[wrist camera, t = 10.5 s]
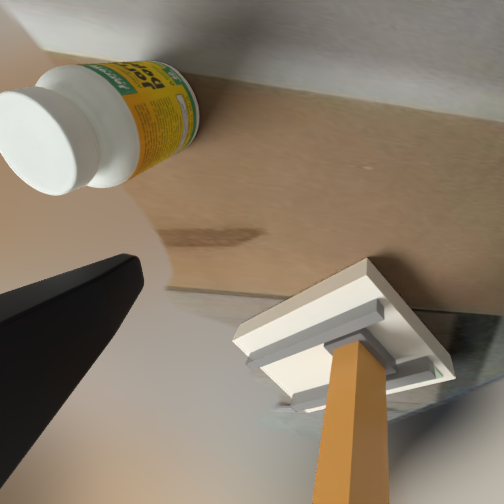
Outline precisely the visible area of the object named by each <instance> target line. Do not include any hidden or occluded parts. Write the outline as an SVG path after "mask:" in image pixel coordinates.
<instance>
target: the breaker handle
mask: <svg viewBox="0 0 504 504" xmlns="http://www.w3.org/2000/svg"><path fill="white" fill-rule="evenodd" d="M324 348H325V349H326V350H327V351H328V352H329V353H330V354H331V355H332V356H333V358H332V365H331V372H330V379H329V387H328V394H327V401H326V408H325V415H324V422H323V429H322V436H321V444H320V451H319V458H318V465H317V472H316V479H315V486H314V494H313V501H312V504H389V476H388V475H389V474H388V443H387V442H388V441H387V407H386V375H388V374H392V373H396V372H397V371H396V360H395V359H394V358H393V357H392V356H391V355H390V354H389V352H388V351H387V350H386V349H385V348H384V347H383V346H382V345H381V344H380V342H379V341H378V340H377V339H376V338H375V337H374V336H373V335H372V334H371V333H370V331H369V330H368V329H367V328H366V327H365V328H362V329H359V330H357V331H354V332H352V333H349V334H346V335H344V336H341V337H339V338H336V339H333V340H331V341H328V342H325V343H324Z"/></svg>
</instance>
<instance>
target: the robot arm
mask: <svg viewBox="0 0 504 504" xmlns="http://www.w3.org/2000/svg"><path fill="white" fill-rule="evenodd" d="M143 286H144V277H143V272H142V267H141V263H140V260H139V258H138V257H137V256H134V255H130V254H119V255H116V256H114V257H111V258H107V259H105V260H102V261H99V262H95V263H92V264H89V265H86V266H83V267H81V268H77V269H74V270H72V271H68V272H65V273H62V274H59V275H57V276H54V277H50V278H47V279H44V280H41V281H38V282H35V283H33V284H30V285H27V286H24V287H21V288H18V289H15V290H12V291H9V292H6V293H3V294H0V489H1V487H2V486H3V485H4V483H5V482H6V481H7V479H8V478H9V476H10V475H11V474H12V473H13V471H14V470H15V469H16V467H17V466H18V464H19V463H20V462H21V460H22V459H23V458H24V457H25V455H26V454H27V452H28V451H29V450H30V448H31V447H32V446H33V444H34V443H35V442H36V440H37V439H38V438H39V436H40V435H41V433H42V432H43V431H44V430H45V428H46V427H47V425H48V424H49V423H50V421H51V420H52V419H53V417H54V416H55V415H56V413H57V412H58V411H59V409H60V408H61V407H62V405H63V404H64V403H65V401H66V400H67V399H68V397H69V396H70V395H71V393H72V392H73V391H74V389H75V388H76V386H77V385H78V384H79V382H80V381H81V380H82V378H83V377H84V376H85V374H86V373H87V372H88V370H89V369H90V368H91V366H92V365H93V363H94V362H95V361H96V360H97V358H98V357H99V356H100V354H101V353H102V351H103V350H104V349H105V347H106V346H107V345H108V343H109V342H110V341H111V339H112V338H113V336H114V335H115V333H116V332H117V330H118V329H119V327H120V325H121V324H122V322H123V320H124V319H125V317H126V315H127V314H128V312H129V310H130V309H131V307H132V305H133V304H134V302H135V300H136V299H137V297H138V295H139V294H140V292H141V290H142V288H143Z"/></svg>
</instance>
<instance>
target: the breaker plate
mask: <svg viewBox="0 0 504 504" xmlns="http://www.w3.org/2000/svg"><path fill="white" fill-rule="evenodd" d="M365 327H366V328H367V329H368V330H369V331H370V333H371V334H372V335H373V336H374V337H375V338H376V339H377V340H378V341H379V342H380V344H381V345H382V346H383V347H384V348H385V349H386V350H387V351H388V352H389V354H390V355H391V356H392V357H393V358H394V359H395V360H396V371H397V372H396V373H392V374H388V375H386V395H387V394H391V393H395V392H400V391H404V390H408V389H413V388H417V387H421V386H426V385H430V384H435V383H439V382H443V381H448V380H452V379H456V377H455V373H454V368H453V364H452V360H451V356H450V354H449V353H448V352H447V351H446V350H445V348H444V347H443V346H442V345H441V344H440V343H439V341H438V340H437V339H436V338H435V337H434V336H433V334H432V333H431V332H430V331H429V330H428V328H427V327H426V326H425V325H424V324H423V323H422V321H421V320H420V319H419V318H418V317H417V316H416V314H415V313H414V312H413V311H412V310H411V308H410V307H409V306H408V305H407V304H406V303H405V301H404V300H403V299H402V298H401V297H400V296H399V294H398V293H397V292H396V291H395V290H394V289H393V287H392V286H391V285H390V284H389V283H388V281H387V280H386V279H385V278H384V277H383V276H382V274H381V273H380V272H379V271H378V270H377V269H376V267H375V266H374V265H373V264H372V263H371V261H370V260H369V259H368V258H365V259H363V260H361V261H359V262H357V263H356V264H354V265H352V266H350V267H348V268H346V269H344V270H342V271H340V272H338V273H337V274H335V275H333V276H331V277H329V278H327V279H325V280H323V281H321V282H320V283H318V284H316V285H314V286H312V287H310V288H308V289H306V290H304V291H302V292H301V293H299V294H297V295H295V296H293V297H291V298H289V299H287V300H285V301H284V302H282V303H280V304H278V305H276V306H274V307H272V308H270V309H268V310H266V311H265V312H263V313H261V314H259V315H257V316H255V317H253V318H251V319H249V320H247V321H246V322H244V323H242V324H240V326H239V328H238V330H237V332H236V334H235V336H234V338H233V340H232V341H233V342H234V343H235V344H236V345H237V346H238V347H239V348H240V349H241V350H242V351H243V352H244V353H245V354H246V355H247V356H248V360H247V362H246V365H247V366H248V367H249V368H250V369H251V370H255V369H257V368H261V369H262V370H263V371H264V372H265V373H266V374H267V375H268V376H269V377H270V378H271V379H272V380H273V381H275V382H276V383H277V384H278V385H279V386H280V387H281V388H282V389H283V390H284V391H285V392H286V393H287V394H288V395H289V396H290V397H291V398H292V400H291V404H290V407H291V408H292V409H293V410H294V411H296V412H298V411H302V410H305V411H306V412H307V413H308V412H313V411H317V410H321V409H325V408H326V401H327V394H328V387H329V379H330V372H331V365H332V358H333V356H332V355H331V354H330V353H329V352H328V351H327V350H326V349H325V348H324V343H325V342H328V341H331V340H333V339H336V338H339V337H341V336H344V335H346V334H349V333H352V332H354V331H357V330H359V329H362V328H365Z"/></svg>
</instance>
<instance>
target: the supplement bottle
mask: <svg viewBox="0 0 504 504" xmlns="http://www.w3.org/2000/svg"><path fill="white" fill-rule="evenodd" d="M198 126H199V107H198V103H197V100H196V97H195V94H194V92H193V90H192V88H191V87H190V85H189V83H188V82H187V81H186V79H185V78H184V77H183V76H182V75H181V74H180V73H179V72H178V71H177V70H176V69H175V68H173V67H172V66H170V65H167V64H165V63H162V62H158V61H135V62H115V63H98V64H76V65H63V66H58V67H55V68H53V69H51V70H49V71H48V72H46V73H45V74H43V75H42V76H41V78H40V79H39V80H38V82H37V83H36V85H35V86H33V87H27V88H20V89H13V90H8V91H5V92H2V93H0V153H1V154H2V156H3V157H4V159H5V160H6V162H7V163H8V165H9V166H10V167H11V169H13V171H14V172H15V173H16V174H17V175H18V176H19V177H20V178H21V179H22V180H24V182H26V183H27V184H29V185H30V186H31V187H33V188H35V189H36V190H38V191H40V192H42V193H46V194H49V195H62V194H66V193H68V192H70V191H73V190H75V189H78V188H81V187H84V186H85V185H87V186H91V187H96V188H108V187H113V186H116V185H119V184H121V183H123V182H125V181H127V180H130V179H132V178H133V177H135V176H136V175H138V174H140V173H142V172H144V171H146V170H147V169H149V168H151V167H153V166H155V165H156V164H158V163H160V162H162V161H164V160H166V159H168V158H170V157H171V156H173V155H175V154H177V153H179V152H180V151H182V150H184V149H185V148H186V147H187V146H188V145H189V144H190V143H191V142H192V141H193V139H194V137H195V136H196V133H197V130H198Z"/></svg>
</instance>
